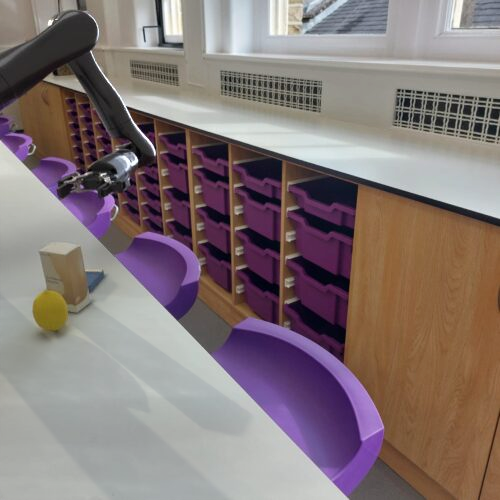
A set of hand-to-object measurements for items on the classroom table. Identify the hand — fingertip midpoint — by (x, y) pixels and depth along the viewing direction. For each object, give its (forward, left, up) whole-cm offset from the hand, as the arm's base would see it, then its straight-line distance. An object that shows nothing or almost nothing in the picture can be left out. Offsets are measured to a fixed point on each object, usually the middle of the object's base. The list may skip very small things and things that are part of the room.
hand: (79, 194), depth 98 cm
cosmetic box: (+1, -14, -18) cm, 23 cm away
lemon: (+2, -22, -18) cm, 28 cm away
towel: (-2, -5, -18) cm, 19 cm away
